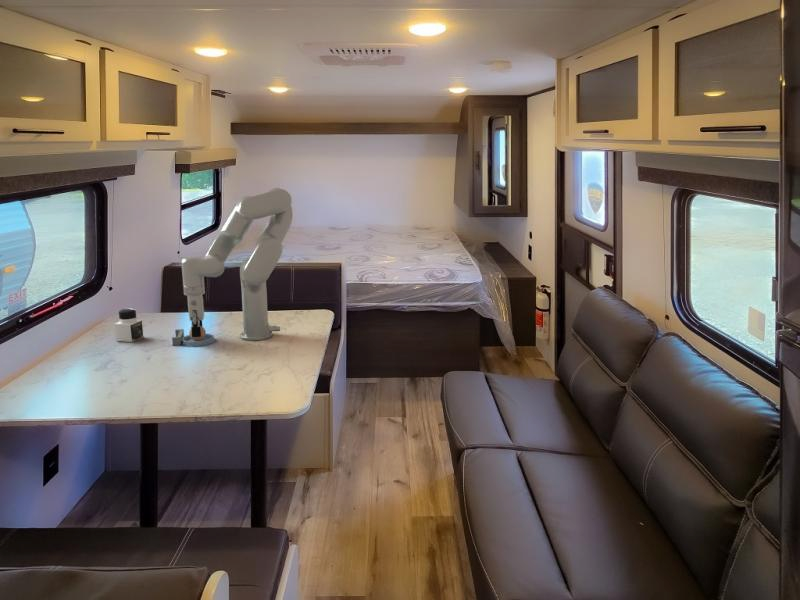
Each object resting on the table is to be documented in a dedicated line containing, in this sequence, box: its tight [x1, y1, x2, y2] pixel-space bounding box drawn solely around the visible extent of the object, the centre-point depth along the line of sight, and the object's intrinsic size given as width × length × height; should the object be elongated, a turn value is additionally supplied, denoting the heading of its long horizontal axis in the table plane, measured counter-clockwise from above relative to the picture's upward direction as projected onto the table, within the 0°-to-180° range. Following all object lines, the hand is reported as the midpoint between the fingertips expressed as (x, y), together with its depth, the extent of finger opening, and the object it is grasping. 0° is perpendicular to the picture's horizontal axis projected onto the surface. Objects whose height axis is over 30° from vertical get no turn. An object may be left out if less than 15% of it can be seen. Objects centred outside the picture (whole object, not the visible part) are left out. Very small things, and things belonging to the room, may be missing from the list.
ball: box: [188, 325, 207, 341], centre depth 225 cm, size 6×6×6 cm
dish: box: [181, 333, 215, 347], centre depth 226 cm, size 12×12×2 cm
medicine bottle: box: [114, 307, 144, 343], centre depth 228 cm, size 7×7×12 cm
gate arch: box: [171, 328, 185, 346], centre depth 227 cm, size 3×12×3 cm, turn 14°
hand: (197, 333), depth 225 cm, fingers open, 9 cm apart
